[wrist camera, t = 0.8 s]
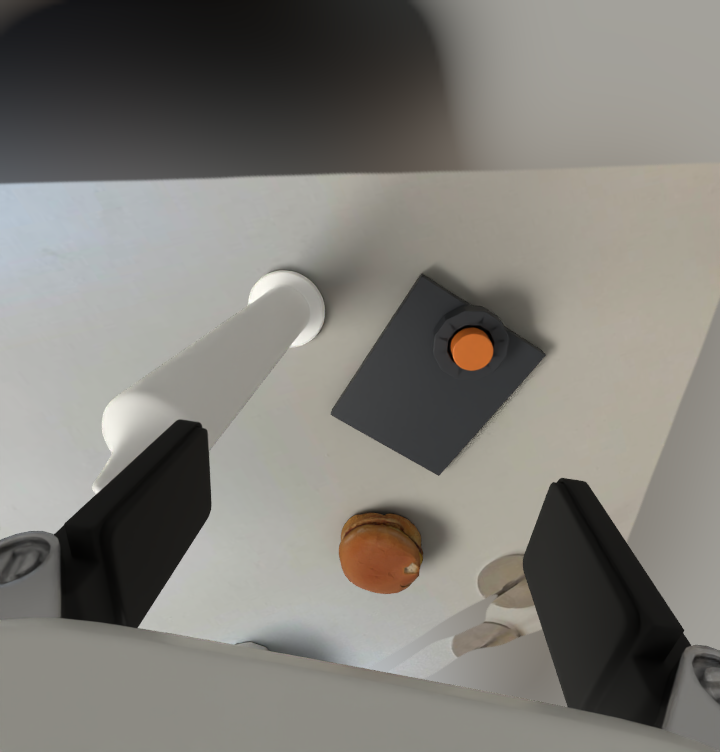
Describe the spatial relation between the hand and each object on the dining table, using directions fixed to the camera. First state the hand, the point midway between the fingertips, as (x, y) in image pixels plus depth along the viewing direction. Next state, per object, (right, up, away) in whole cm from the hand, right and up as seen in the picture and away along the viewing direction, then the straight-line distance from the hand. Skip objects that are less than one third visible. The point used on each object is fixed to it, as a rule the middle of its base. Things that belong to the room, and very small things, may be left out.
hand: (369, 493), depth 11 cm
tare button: (+9, +6, +23) cm, 25 cm away
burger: (+2, -16, +37) cm, 40 cm away
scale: (+7, +3, +27) cm, 28 cm away
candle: (-7, +9, +26) cm, 29 cm away
